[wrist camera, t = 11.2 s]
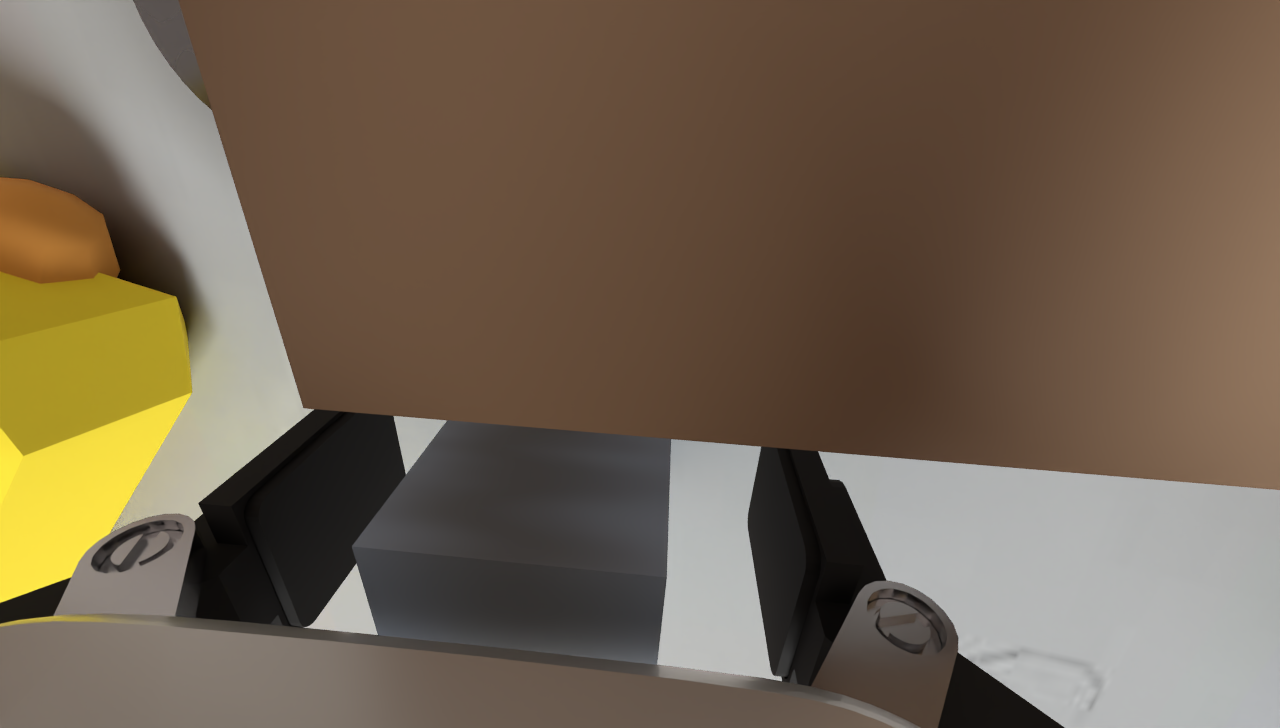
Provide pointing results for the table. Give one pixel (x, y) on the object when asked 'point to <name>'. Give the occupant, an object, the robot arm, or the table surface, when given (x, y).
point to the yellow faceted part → (74, 383)
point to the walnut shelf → (776, 220)
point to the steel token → (173, 41)
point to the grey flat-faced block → (525, 543)
